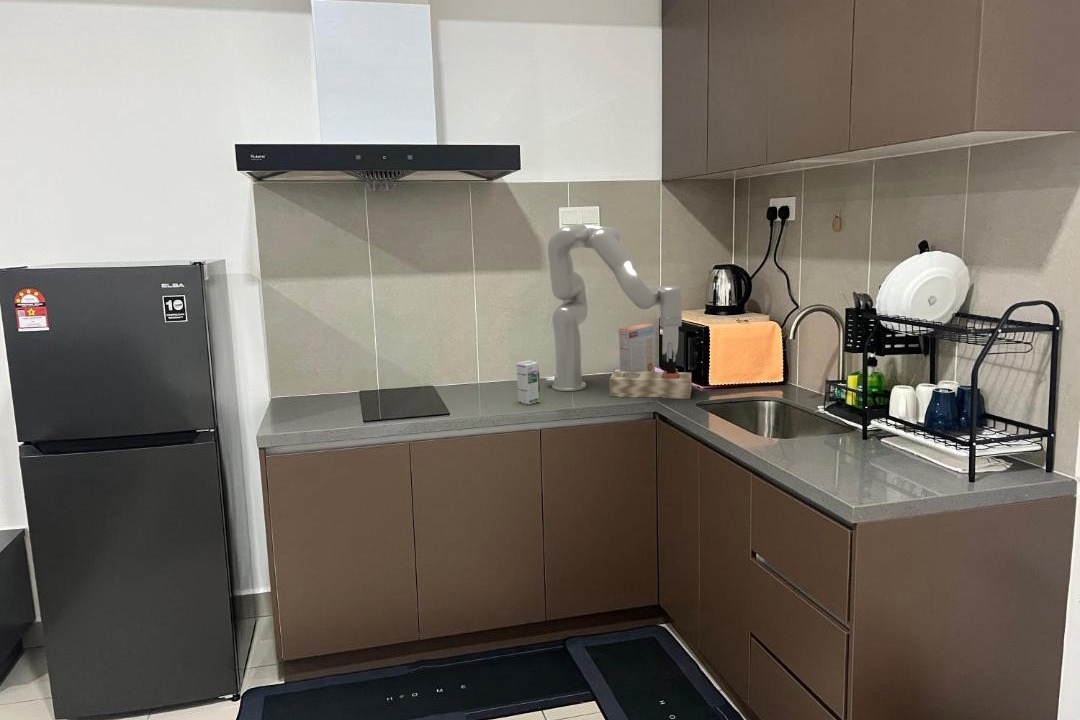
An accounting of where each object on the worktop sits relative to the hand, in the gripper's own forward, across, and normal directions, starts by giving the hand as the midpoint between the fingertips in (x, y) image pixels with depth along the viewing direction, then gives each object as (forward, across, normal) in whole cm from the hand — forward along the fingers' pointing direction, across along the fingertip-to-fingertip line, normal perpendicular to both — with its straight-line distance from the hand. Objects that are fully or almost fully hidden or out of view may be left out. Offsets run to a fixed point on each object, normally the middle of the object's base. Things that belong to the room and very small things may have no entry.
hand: (671, 372), depth 279 cm
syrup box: (+8, +16, -48) cm, 51 cm away
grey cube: (+6, 0, -14) cm, 15 cm away
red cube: (+5, 0, 0) cm, 5 cm away
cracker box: (+8, -20, -14) cm, 26 cm away
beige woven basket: (+8, 0, -7) cm, 11 cm away
